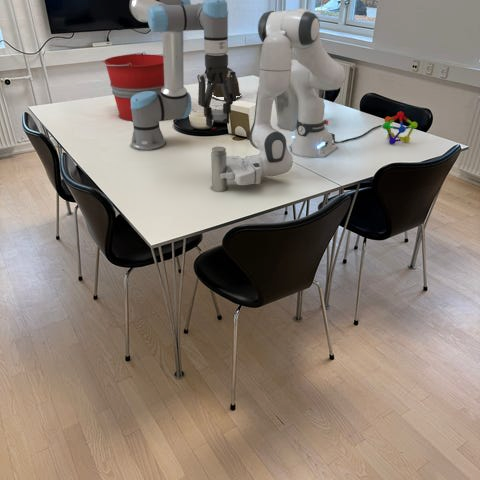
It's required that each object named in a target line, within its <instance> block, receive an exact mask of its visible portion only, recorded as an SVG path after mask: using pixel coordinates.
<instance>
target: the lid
mask: <svg viewBox="0 0 480 480" xmlns="http://www.w3.org/2000/svg"><path fill="white" fill-rule="evenodd" d="M226 118H227V112H226V111H224V110H223V109H212V121H223V120H224V119H226Z"/></svg>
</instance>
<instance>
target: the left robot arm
mask: <svg viewBox="0 0 480 480" xmlns="http://www.w3.org/2000/svg"><path fill="white" fill-rule="evenodd" d="M191 3H192V1H191V0H129V11H130V13H131V15H132V17H133V18H134V19H135V20H137V21H138V22H141V23H147V24H148V27H149V29H150V31H151V32H153V33H161V35H162V56H163V65H164V87H162V89H161V94H159V95H157V94H156V92H154V91H145V92H140V93H137V94H135V95H133V96H132V98H131V110H132V118H133V121H132V125H133V132H132V135H131V147H132V148H134V149H135V150H141V151H151V150H153V151H154V150H157V149H161V148H163V147H164V146H165V144H166V140H165V137H164V135H163V132H162V130H161V127H160V122H166V121H175V120H182V119H187V118H188V117H189V116H190V114H191V112H192V103H193V102H192V96H191V94H190V92H188V89H187V88H186V87H185V86H184V85H185V84H184V83H185V82H184V80H185V79H184V78H185V77H184V75H185V74H184V73H185V71H184V32H185V31H186V32H189V31H203V47H204V48H203V49H204V53H205V54H204V66H205V71H204V73H202V74H198V75H197V76H196V77H197V82H198V93H197V94H198V95H197V96H198V99H197V100H198V101H197V104H198V106H199V107H202V108H203V116H204V117H205V125H206V126H207V127H209V128H213V120H212V110H213V108H212V107H211V103H212V99H213V98H212V95H213V90H214V88H215V86H216V84H218V83H219V85H220V87H221V90H222V94H223V97H224V100H223V101H224V102H223V103H222V110H224V111H226V112H227V118H226V119H224V120H222V122H223V123H224V124H227V125H228V124H230V114H231V112H232V105H233V103H234V102H236V101H237V99H236V94H235V75H237V74H236V71H234V70H233V71H231V70H230V71H228V68H229V67H228V66H229V55H228V54H227V53H229V16H228V15H229V10H228V1H227V0H203V1H202V2H201V3H198V2H197V3H194V4H191ZM227 76H228V88H227V82H226V77H227ZM206 81H207V82H206ZM228 90H229V91H228Z"/></svg>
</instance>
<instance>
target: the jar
mask: <svg viewBox="0 0 480 480" xmlns="http://www.w3.org/2000/svg"><path fill="white" fill-rule="evenodd" d="M227 156H228V155H227V148H226V147H224V146H221V145H217V146H214V147H211V152H210V161H211V162H210V163H211V189H212V190H213V191H215V192H223V191H226V190H227V189H228V179H226V178H223V179H221V178H220V177H219V173H222V172H224V173H227Z"/></svg>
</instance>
